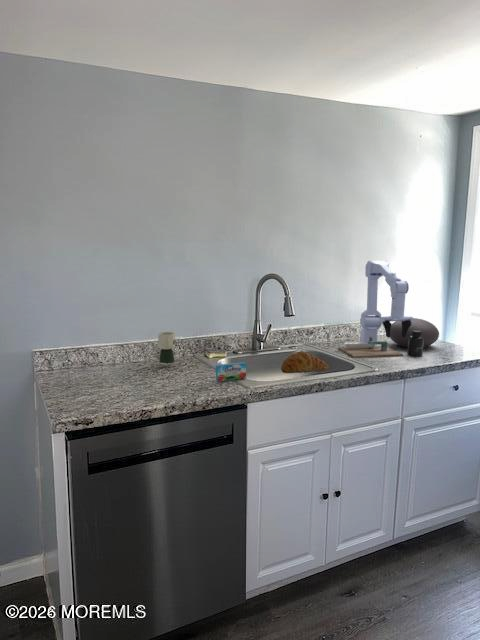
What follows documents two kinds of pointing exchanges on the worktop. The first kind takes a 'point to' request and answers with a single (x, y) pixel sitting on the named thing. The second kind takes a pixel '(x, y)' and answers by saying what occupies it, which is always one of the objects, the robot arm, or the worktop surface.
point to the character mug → (166, 346)
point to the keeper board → (372, 351)
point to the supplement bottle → (415, 344)
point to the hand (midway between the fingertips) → (395, 336)
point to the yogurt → (230, 371)
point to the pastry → (303, 363)
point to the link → (358, 345)
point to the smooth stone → (427, 328)
